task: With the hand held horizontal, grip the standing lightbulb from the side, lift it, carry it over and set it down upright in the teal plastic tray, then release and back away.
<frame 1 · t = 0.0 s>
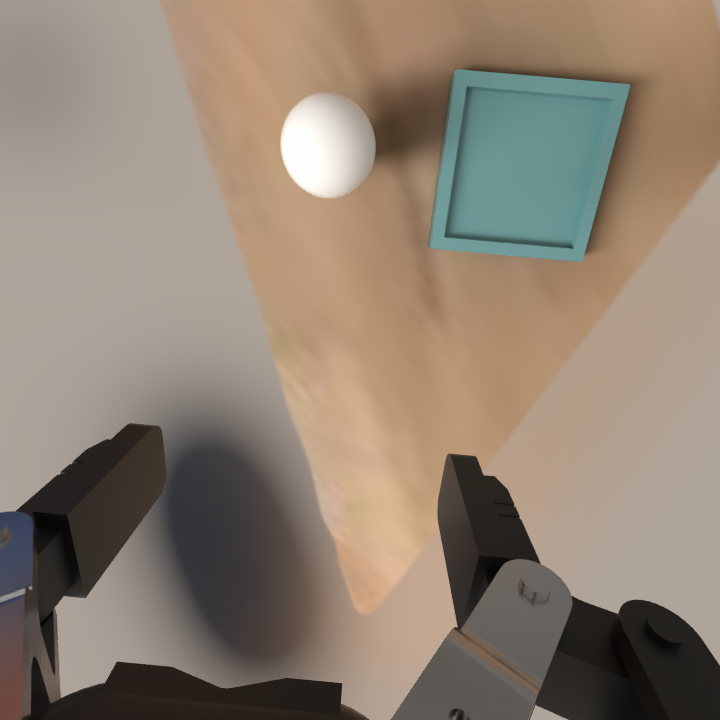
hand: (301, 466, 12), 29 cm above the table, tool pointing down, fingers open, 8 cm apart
tray: (515, 173, 35), on the table
lightbulb: (338, 158, 36), on the table
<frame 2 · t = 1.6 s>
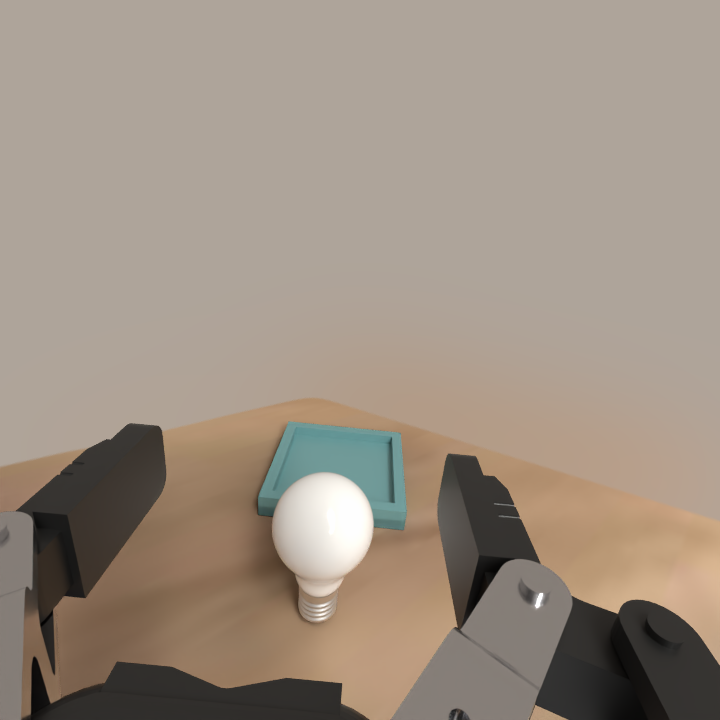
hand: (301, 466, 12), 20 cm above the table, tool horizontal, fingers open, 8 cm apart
tray: (337, 476, 43), on the table
lightbulb: (317, 613, 29), on the table
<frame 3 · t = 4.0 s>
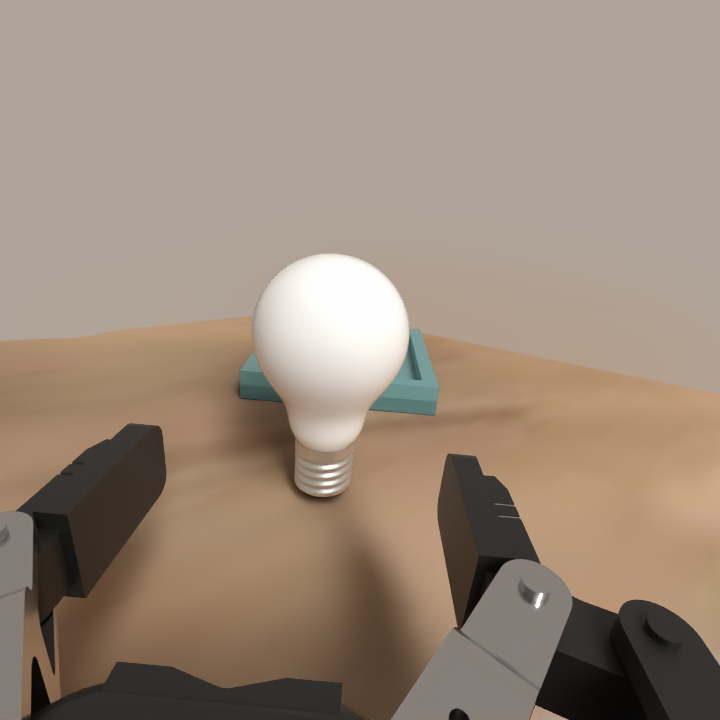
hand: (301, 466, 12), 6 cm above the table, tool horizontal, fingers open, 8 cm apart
tray: (344, 369, 34), on the table
lightbulb: (322, 492, 20), on the table
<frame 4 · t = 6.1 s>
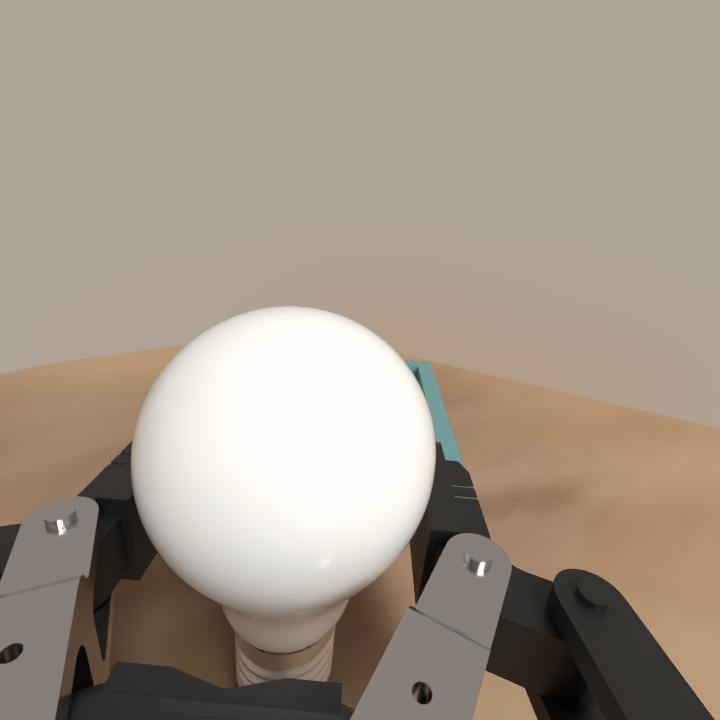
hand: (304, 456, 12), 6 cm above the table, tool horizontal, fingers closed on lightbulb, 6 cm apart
tray: (334, 421, 26), on the table
lightbulb: (284, 681, 12), on the table, touching gripper
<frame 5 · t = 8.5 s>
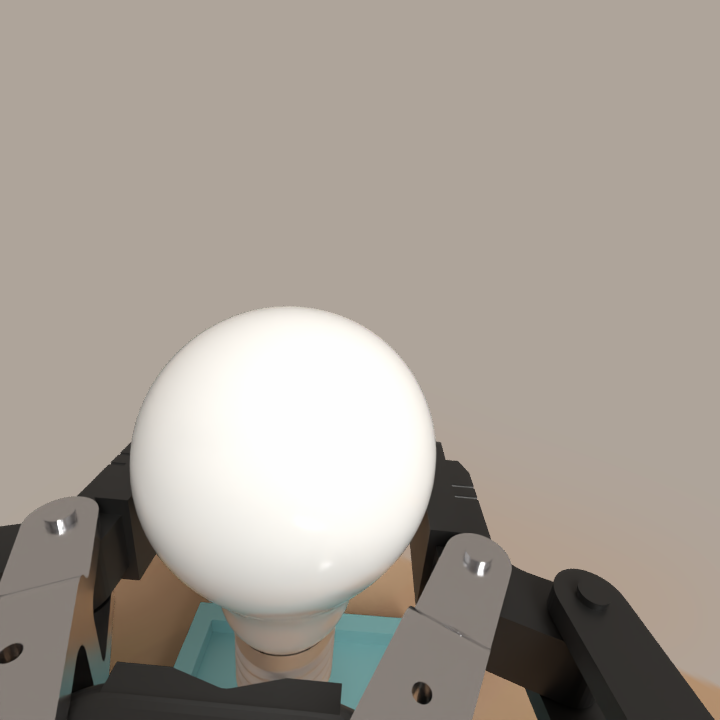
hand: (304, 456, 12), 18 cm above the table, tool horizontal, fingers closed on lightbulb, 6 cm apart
lightbulb: (284, 682, 12), point 11 cm above the table, touching gripper
when the fingers open (8 cm above the table, at t = 11.2 s): lightbulb stays where it is, resting on tray.
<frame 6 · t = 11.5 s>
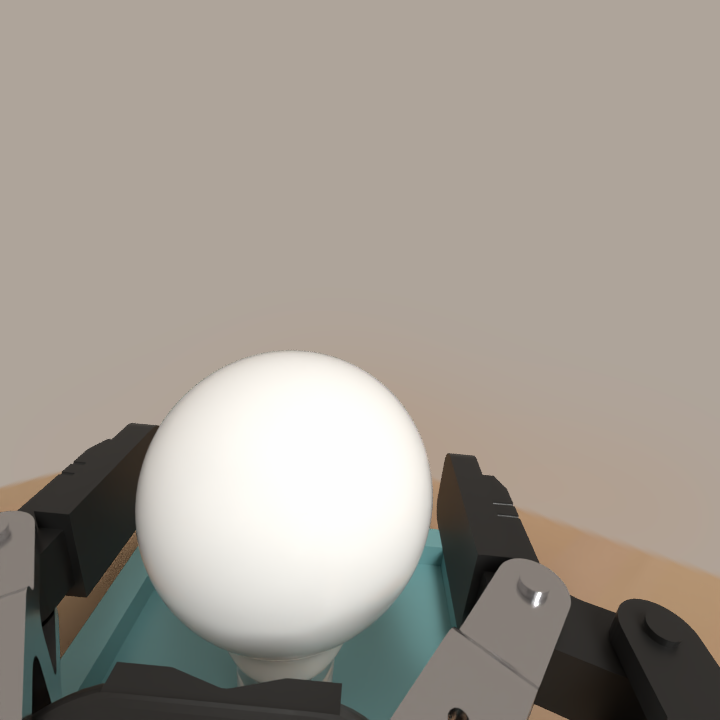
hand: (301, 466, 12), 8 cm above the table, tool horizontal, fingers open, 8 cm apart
tray: (283, 719, 13), on the table
lightbulb: (284, 707, 13), point 1 cm above the table, touching tray
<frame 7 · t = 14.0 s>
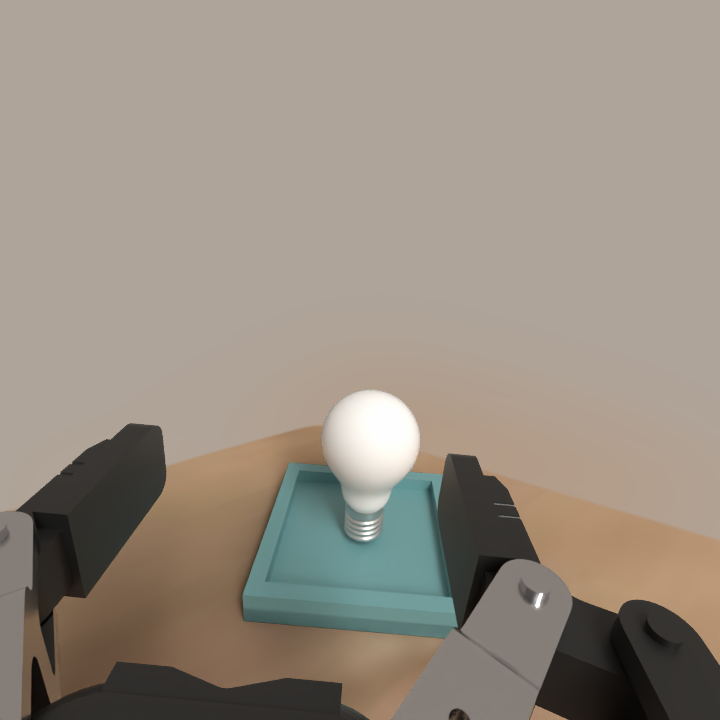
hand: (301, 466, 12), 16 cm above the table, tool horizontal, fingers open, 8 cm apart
tray: (360, 544, 30), on the table
lightbulb: (362, 537, 30), point 1 cm above the table, touching tray
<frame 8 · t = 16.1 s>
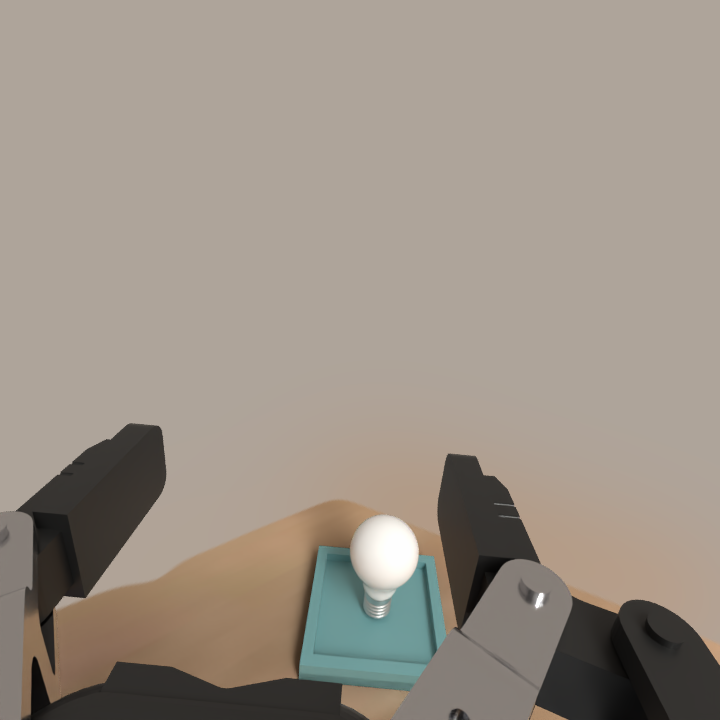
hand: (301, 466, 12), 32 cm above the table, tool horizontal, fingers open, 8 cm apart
tray: (374, 617, 42), on the table
lightbulb: (375, 612, 42), point 1 cm above the table, touching tray
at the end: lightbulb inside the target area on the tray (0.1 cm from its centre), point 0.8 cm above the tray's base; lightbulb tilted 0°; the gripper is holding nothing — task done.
